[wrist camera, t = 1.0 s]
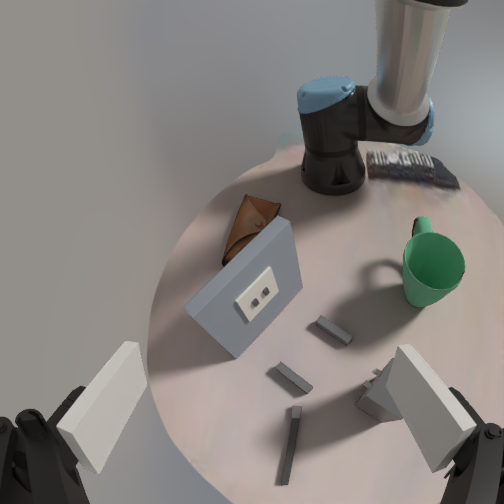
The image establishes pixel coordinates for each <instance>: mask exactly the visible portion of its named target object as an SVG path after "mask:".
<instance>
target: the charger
mask: <svg viewBox="0 0 504 504" xmlns="http://www.w3.org/2000/svg"><path fill="white" fill-rule="evenodd" d="M393 361H394V358H392V359H391V360H390V361H389V363H388V364H387V365H386V366H385V367H384V368H383V370H382V371H380V370H378V369H377V368H375V369H374V370H373V372H372V373H374V374H375V375H377V376H376V377H375V379H374V380H373V381H372V383H370V382H368V381H367V380H366V381H365V383H364V384H363V385H364V386H365V387H367V390H366V391H365V392H364V394H363V395H362V396H361V397H360V399H359V400H358V401H357V403H356V404H355V405H356V406H357V407H358V408H360V409H361V410H363V411H364V412H366V413H367V414H369V415H370V416H372V417H373V418H375V419H376V420H378V421H379V422H381V423H383V422H389V421H395V420H401V419H402V418H403V416H402V414H401V413H400V411H399V409H398V407H397V405H396V404H395V402H394V400H393V398H392V397H391V395H390V393H389V391H388V390H387V388H386V383H387V380H388V377H389V374H390V371H391V368H392V364H393Z"/></svg>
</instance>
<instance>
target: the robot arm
mask: <svg viewBox="0 0 504 504" xmlns="http://www.w3.org/2000/svg"><path fill="white" fill-rule="evenodd" d="M467 3H468V0H375V9H376V30H377V75H376V76H375V77H374V78H373V79H372V80H371V81H370V83H369V85H368V86H356V85H355V83H354V81H353V80H352V79H351V78H349V77H342V76H328V77H322V78H318V79H315V80H312V81H310V82H308V83H305V84H304V85H303V86H301V87H300V89H299V90H298V92H297V100H298V111H299V114H300V120H301V125H302V131H303V137H304V142H305V153H304V157H303V162H302V166H301V173H302V179H303V182H304V183H305V185H306V186H307V187H309V188H310V189H312V190H313V191H315V192H318V193H321V194H326V195H341V194H346V193H350V192H352V191H354V190H356V189H358V188H359V187H360V186H361V185H362V184H363V182H364V180H365V165H364V163H363V160H362V157H361V154H360V152H359V149H358V141H373V142H385V143H396V144H404V145H407V146H413V145H418V146H420V145H424V144H425V143H427V142H428V140H429V139H430V137H431V134H432V127H433V126H434V107H433V103H432V100H431V98H430V97H429V96H428V94H427V90H428V87H429V84H430V81H431V78H432V75H433V72H434V69H435V66H436V63H437V60H438V56H439V53H440V50H441V46H442V43H443V39H444V36H445V32H446V28H447V24H448V20H449V15H450V11H451V9H458V8H462V7H464V6H465V5H466V4H467ZM146 386H147V380H146V376H145V372H144V367H143V363H142V358H141V353H140V349H139V343H137V342H130V341H125V342H124V343H123V344H122V345H121V346H120V348H119V349H118V350H117V351H116V352H115V353H114V355H113V356H112V357H111V358H110V359H109V361H108V362H107V363H106V364H105V365H104V367H103V368H102V369H101V370H100V372H99V373H98V374H97V375H96V376H95V378H94V379H93V380H92V381H91V382H90V384H89V385H88V387H83V386H80V387H78V388H76V389H75V390H73V391H72V392H71V393H70V394H69V395H68V397H67V398H66V399H65V400H64V401H63V402H62V405H60V406H59V407H58V409H57V410H56V411H55V412H54V413H53V415H52V416H51V417H50V418H49V420H48V421H47V422H46V421H45V419H44V418H43V416H42V414H41V413H40V412H39V411H37V410H35V409H26V410H23V411H22V412H20V413H19V414H18V415H17V417H16V419H15V423H16V424H17V426H18V428H17V427H14V426H13V424H12V422H11V421H10V420H9V419H8V418H6V417H0V504H90V503H89V500H88V498H87V496H86V493H85V490H84V487H83V484H82V481H81V478H80V476H79V472H78V470H77V468H76V464H77V463H78V461H79V462H80V464H81V465H82V467H83V468H84V469H86V470H89V471H91V472H93V473H96V474H100V472H101V470H102V468H103V466H104V464H105V463H106V461H107V459H108V457H109V455H110V453H111V451H112V449H113V447H114V445H115V443H116V441H117V439H118V438H119V436H120V434H121V432H122V430H123V428H124V426H125V425H126V423H127V420H128V419H129V417H130V415H131V413H132V412H133V409H134V408H135V406H136V404H137V402H138V400H139V399H140V397H141V395H142V393H143V391H144V389H145V388H146ZM386 388H387V390H388V391H389V393H390V395H391V397H392V398H393V400H394V402H395V404H396V405H397V407H398V409H399V411H400V413H401V414H402V416H403V418H404V420H405V422H406V423H407V425H408V427H409V429H410V431H411V433H412V435H413V436H414V438H415V440H416V442H417V444H418V446H419V448H420V450H421V452H422V454H423V456H424V457H425V459H426V461H427V463H428V465H429V467H430V469H431V471H432V473H434V472H436V471H439V470H441V469H443V468H446V467H447V466H448V464H449V463H450V462H451V461H452V459H453V460H454V462H455V464H454V466H453V467H452V468H451V469H450V470H449V471H448V473H447V474H446V475H445V477H444V478H445V479H446V478H447V477H448V476H449V474H450V477H449V480H448V483H447V486H446V489H445V492H444V495H443V498H442V500H441V503H440V504H504V428H503V429H501V427H500V426H498V425H497V424H494V423H487V424H485V423H484V421H483V420H482V419H481V418H480V416H479V415H478V414H477V413H476V411H475V410H474V409H473V408H472V406H471V405H469V403H468V402H467V400H465V398H464V397H463V395H462V394H461V393H460V392H459V391H457V390H456V389H454V388H452V387H450V388H447V387H446V385H445V384H444V383H443V382H442V380H441V379H440V378H439V377H438V376H437V374H436V373H435V372H434V371H433V370H432V369H431V367H430V366H429V365H428V364H427V363H426V362H425V360H424V359H423V358H422V357H421V356H420V355H419V353H418V352H417V351H416V350H415V349H414V348H413V347H412V346H411V344H404V345H398V347H397V351H396V354H395V358H394V361H393V364H392V368H391V371H390V374H389V377H388V380H387V383H386Z"/></svg>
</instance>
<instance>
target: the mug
mask: <svg viewBox="0 0 504 504" xmlns="http://www.w3.org/2000/svg"><path fill="white" fill-rule="evenodd" d="M464 272H465V261H464V257H463V255H462V253H461V251H460V249H459V248H458V247H457V246H456V244H455V243H454V242H453V241H451V240H450V239H449V238H447V237H446V236H443V235H441V234H439V233H433V230H432V225H431V222H430V219H429V218H428V217H417V218H416V219H415V220H414V224H413V229H412V238H411V239H410V240H409V242H408V243H407V245H406V248H405V250H404V253H403V287H404V291H405V295H406V299H407V300H408V302H409V303H410V304H411V305H413V306H415V307H425V306H428V305H431V304H433V303H435V302H437V301H439V300H440V299H442V298H443V297H444V296H446V295H447V294H448V293H450V292H451V291H452V290H454V289H455V288H456V287H457V286H458V285H459V283H460V281H461V280H462V276H463V274H464Z"/></svg>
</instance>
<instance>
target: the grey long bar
mask: <svg viewBox="0 0 504 504" xmlns="http://www.w3.org/2000/svg"><path fill="white" fill-rule="evenodd" d="M301 410H302V407H301V406H293V408H292V415H291V418H292V423H291V430H290V436H289V442H288V448H287V454H286V460H285V465H284V471H283V476H282V481H281V485H288V483H289V478H290V472H291V467H292V461H293V455H294V449H295V443H296V437H297V430H298V424H299V419H300V417H301Z"/></svg>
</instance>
